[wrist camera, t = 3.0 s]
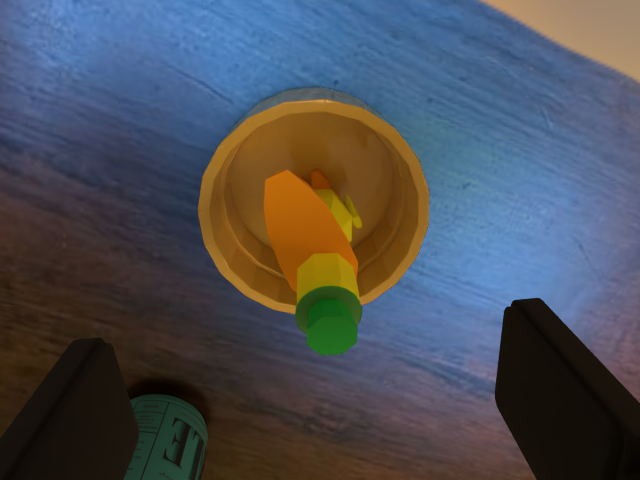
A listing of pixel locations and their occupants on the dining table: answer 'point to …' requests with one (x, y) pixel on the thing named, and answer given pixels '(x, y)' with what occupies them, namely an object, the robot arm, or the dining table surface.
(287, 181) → the toy figure
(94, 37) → the dining table surface
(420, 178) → the mustard bowl
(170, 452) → the beverage bottle
